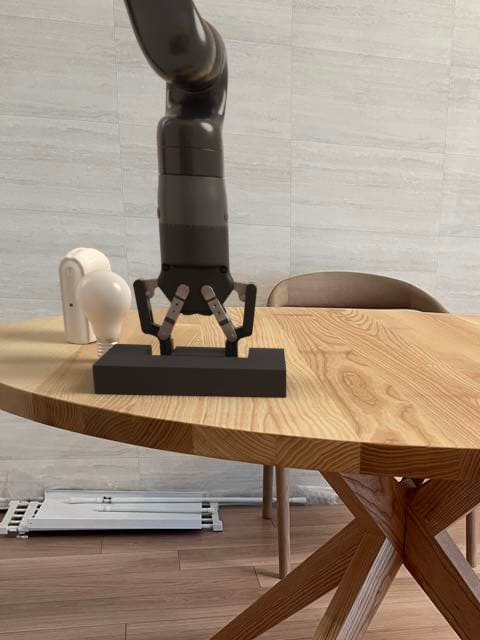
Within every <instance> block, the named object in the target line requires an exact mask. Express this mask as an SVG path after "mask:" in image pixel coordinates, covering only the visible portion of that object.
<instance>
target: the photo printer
mask: <svg viewBox="0 0 480 640" xmlns="http://www.w3.org/2000/svg"><path fill="white" fill-rule="evenodd" d="M99 269H103V270H109V271H112V267H111V263H110V261H109V258H108V257H107V256H106V255H105V254H104V253H103V252H101V251H100V250H98V249H96V248H92V247H84V246H83V247H76V248H73V249H72V250H69V252H66V254H65V255H63V257H62V258H61V260H60V262H59V263H58V278H59V279H58V280H59V291H60V298H61V299H60V300H61V308H62V309H61V310H62V319H63V329H64V338H65V340H66V341H67V342H69V343H70V344H76V345H88V344H90V343H94V342H97V341H96V336H95V335H94V333H93V330H92V326H91V323H90V322H89V320H88V319H87V317H86V316H85V315H84V313H83V312H82V310H81V309H80V307H79V305H78V302H77V297H76V290H77V286H78V283H79V282H80V280H81V279H82V277H83V276H84V275H86V274H87V273H89V272H91V271H94V270H99Z"/></svg>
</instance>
